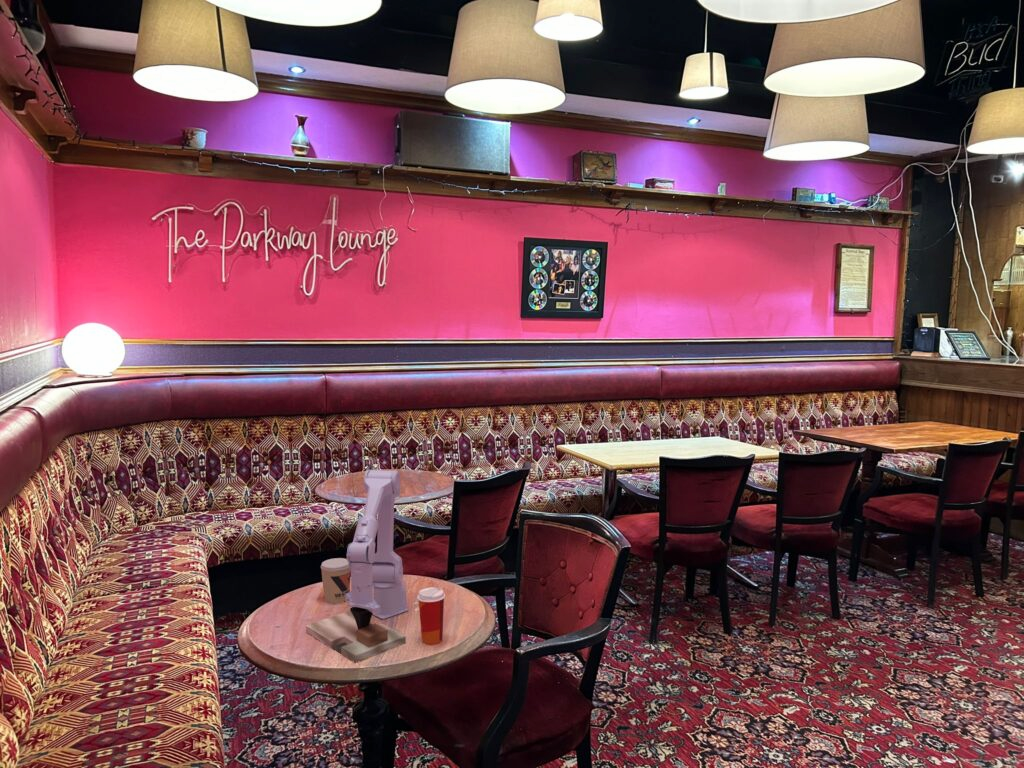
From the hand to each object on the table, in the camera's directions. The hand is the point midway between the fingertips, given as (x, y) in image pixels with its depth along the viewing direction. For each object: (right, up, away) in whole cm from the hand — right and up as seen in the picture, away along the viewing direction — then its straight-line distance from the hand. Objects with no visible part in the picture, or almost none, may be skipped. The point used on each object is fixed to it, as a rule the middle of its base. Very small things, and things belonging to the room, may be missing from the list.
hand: (363, 632), depth 200 cm
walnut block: (+3, -1, -3) cm, 4 cm away
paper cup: (+19, -3, +1) cm, 19 cm away
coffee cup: (-15, 0, +31) cm, 34 cm away
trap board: (-3, -3, +3) cm, 5 cm away
